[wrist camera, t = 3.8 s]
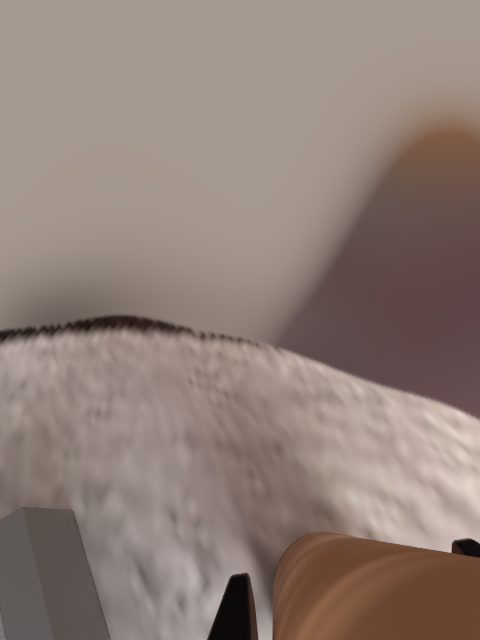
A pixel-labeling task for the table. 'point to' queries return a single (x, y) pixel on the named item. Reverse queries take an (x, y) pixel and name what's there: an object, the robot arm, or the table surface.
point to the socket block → (47, 579)
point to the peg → (374, 591)
